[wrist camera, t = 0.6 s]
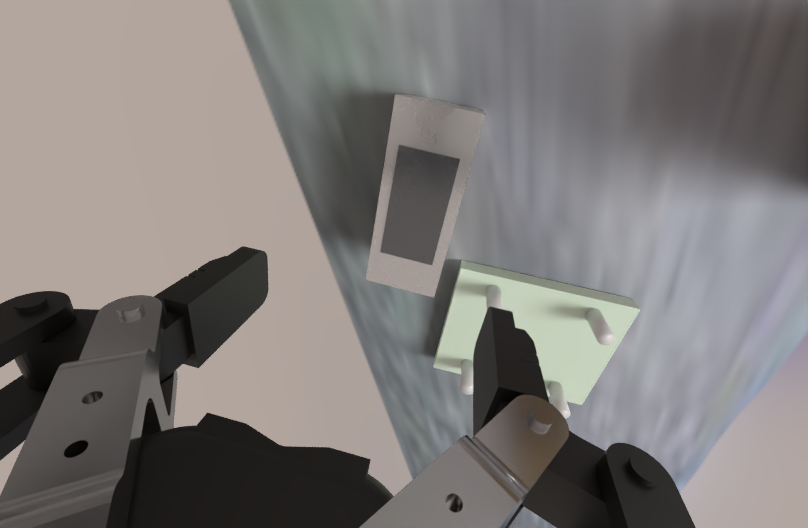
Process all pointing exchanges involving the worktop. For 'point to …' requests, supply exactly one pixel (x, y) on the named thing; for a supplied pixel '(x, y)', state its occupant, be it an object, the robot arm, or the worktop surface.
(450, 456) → the robot arm
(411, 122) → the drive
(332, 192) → the worktop surface
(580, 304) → the pale green pegged board
